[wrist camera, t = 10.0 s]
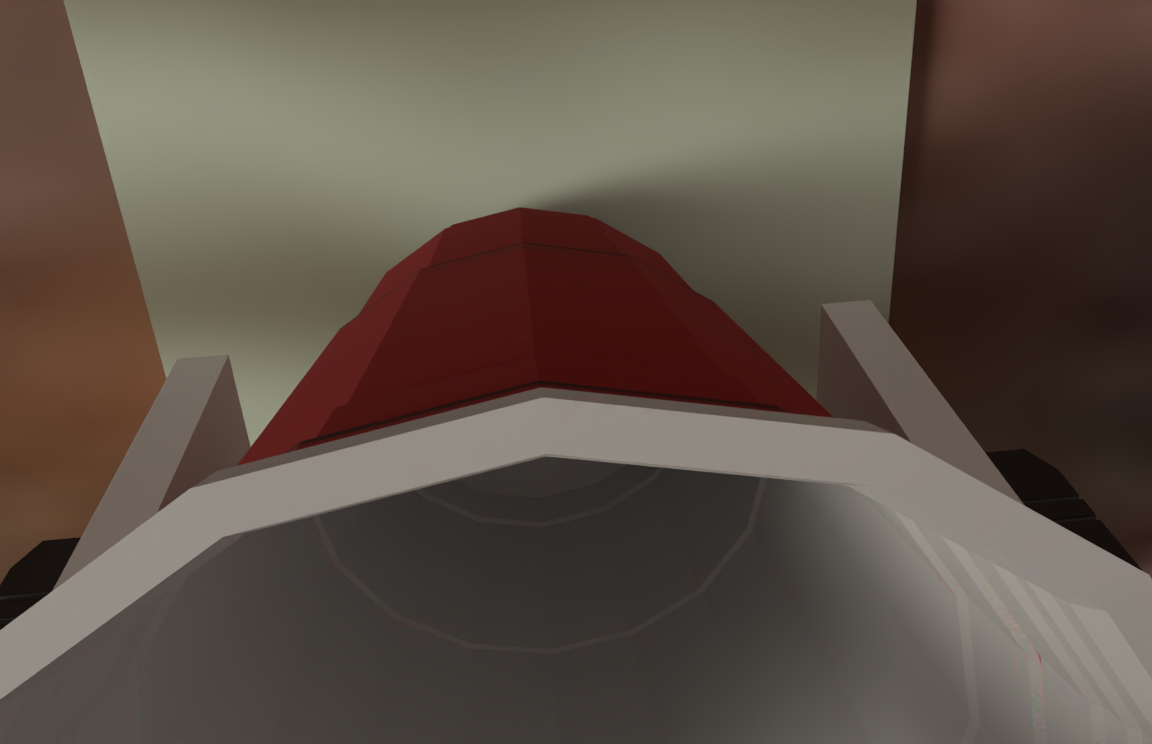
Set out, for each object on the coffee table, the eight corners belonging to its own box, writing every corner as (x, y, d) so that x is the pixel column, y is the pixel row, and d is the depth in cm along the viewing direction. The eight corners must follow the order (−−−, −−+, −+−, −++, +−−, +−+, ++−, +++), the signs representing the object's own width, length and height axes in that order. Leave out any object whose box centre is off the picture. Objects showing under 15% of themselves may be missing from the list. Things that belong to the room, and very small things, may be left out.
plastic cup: (868, 3, 16) (1584, 402, 6) (822, 573, 21) (1150, 1336, 11) (132, 46, 16) (-576, 571, 5) (266, 620, 21) (45, 1467, 10)
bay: (14, -219, 15) (-178, -223, 11) (930, -279, 16) (1105, -306, 11) (352, 1038, 29) (328, 1257, 25) (825, 987, 30) (883, 1193, 25)
